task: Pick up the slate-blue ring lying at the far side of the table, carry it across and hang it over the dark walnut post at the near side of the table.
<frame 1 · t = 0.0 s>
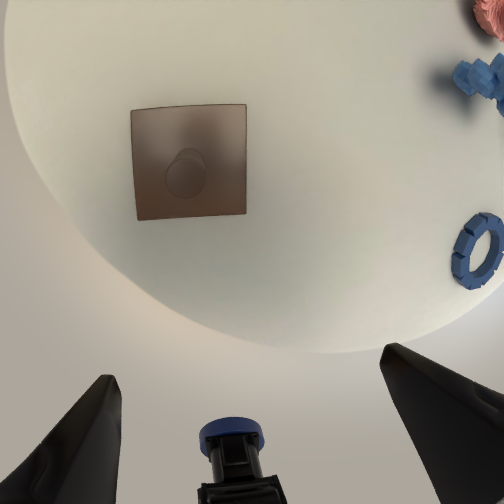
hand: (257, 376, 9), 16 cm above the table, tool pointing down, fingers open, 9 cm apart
post: (189, 160, 22), on the table
ring: (476, 249, 30), on the table
grapes: (462, 86, 23), on the table
flower: (478, 17, 19), on the table
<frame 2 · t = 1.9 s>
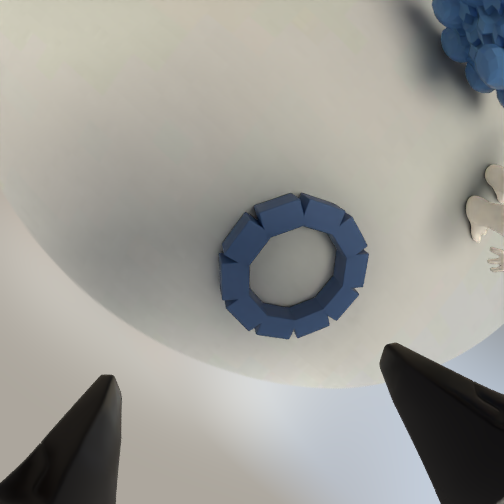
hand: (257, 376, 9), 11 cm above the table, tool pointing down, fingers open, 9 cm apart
toy creature: (481, 194, 21), on the table
ring: (291, 265, 20), on the table
grapes: (440, 56, 16), on the table
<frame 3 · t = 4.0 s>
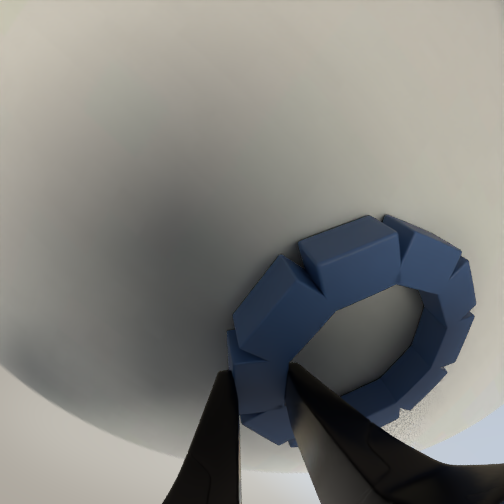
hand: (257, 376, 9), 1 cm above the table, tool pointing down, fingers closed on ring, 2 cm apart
ring: (354, 340, 11), on the table, touching gripper
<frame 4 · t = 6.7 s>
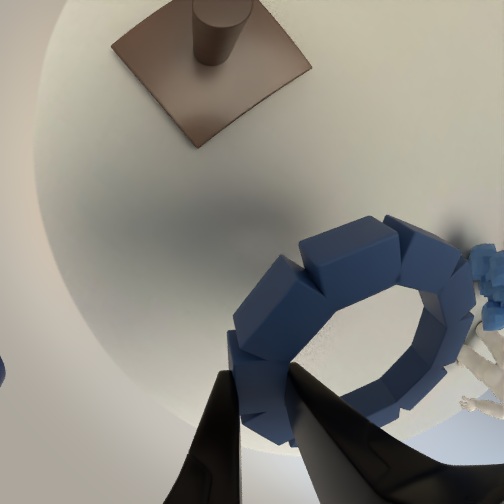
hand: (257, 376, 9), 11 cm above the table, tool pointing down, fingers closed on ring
post: (211, 54, 15), on the table
toy creature: (470, 338, 30), on the table
ring: (354, 340, 11), point 10 cm above the table, touching gripper
grapes: (463, 267, 25), on the table
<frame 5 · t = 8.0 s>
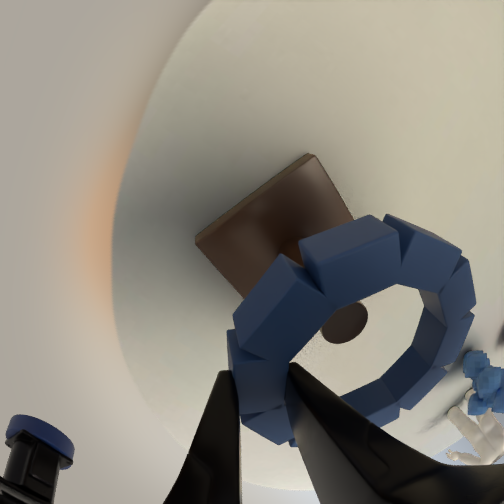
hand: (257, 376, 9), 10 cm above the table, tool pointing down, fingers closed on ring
post: (289, 245, 19), on the table
toy creature: (460, 400, 34), on the table
ring: (354, 339, 11), point 9 cm above the table, touching gripper
grapes: (460, 359, 29), on the table
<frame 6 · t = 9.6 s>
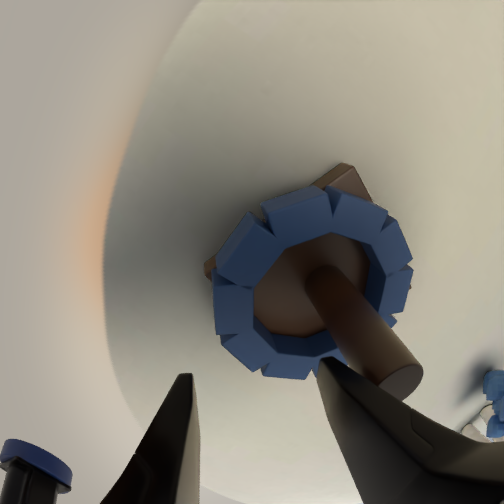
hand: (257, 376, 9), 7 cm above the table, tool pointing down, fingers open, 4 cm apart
post: (316, 272, 16), on the table
toy creature: (475, 417, 30), on the table
ring: (311, 285, 15), point 1 cm above the table, touching post
grapes: (480, 379, 25), on the table
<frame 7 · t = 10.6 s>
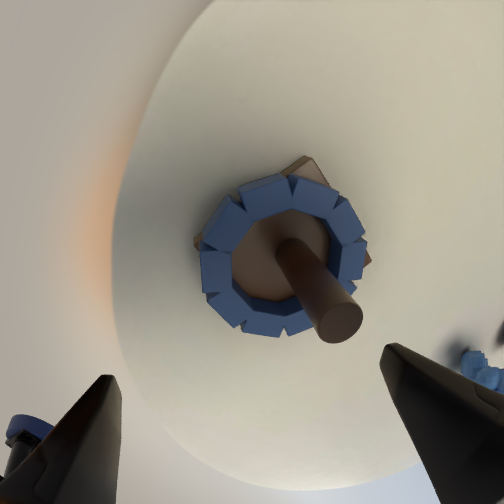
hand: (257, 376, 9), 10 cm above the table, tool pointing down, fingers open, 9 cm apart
post: (286, 246, 19), on the table
ring: (281, 255, 18), point 1 cm above the table, touching post
grapes: (458, 360, 29), on the table
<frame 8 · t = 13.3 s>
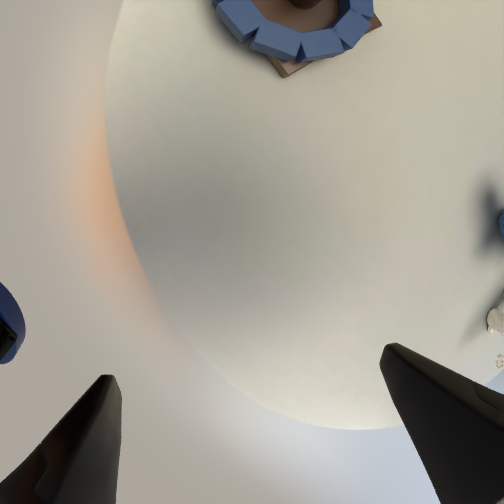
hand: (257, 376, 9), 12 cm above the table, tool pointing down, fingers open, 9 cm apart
post: (296, 2, 15), on the table
toy creature: (498, 303, 30), on the table
grapes: (495, 226, 25), on the table
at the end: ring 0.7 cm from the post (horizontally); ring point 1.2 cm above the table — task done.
